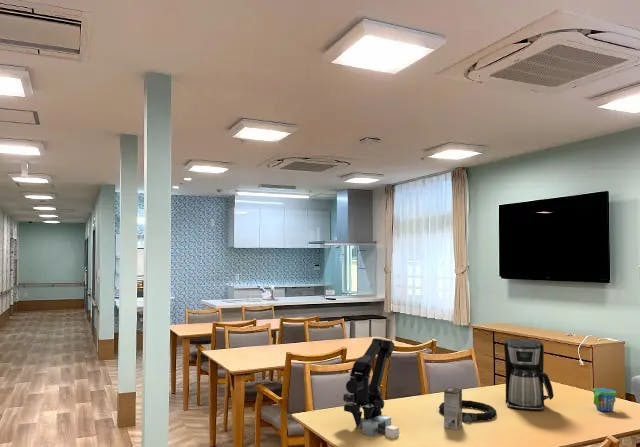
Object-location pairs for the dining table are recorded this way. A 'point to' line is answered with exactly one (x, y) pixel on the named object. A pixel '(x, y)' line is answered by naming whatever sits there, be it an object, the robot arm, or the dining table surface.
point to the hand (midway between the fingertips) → (361, 424)
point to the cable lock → (475, 416)
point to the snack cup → (604, 399)
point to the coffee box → (452, 408)
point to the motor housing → (375, 425)
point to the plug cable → (389, 432)
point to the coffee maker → (525, 374)
